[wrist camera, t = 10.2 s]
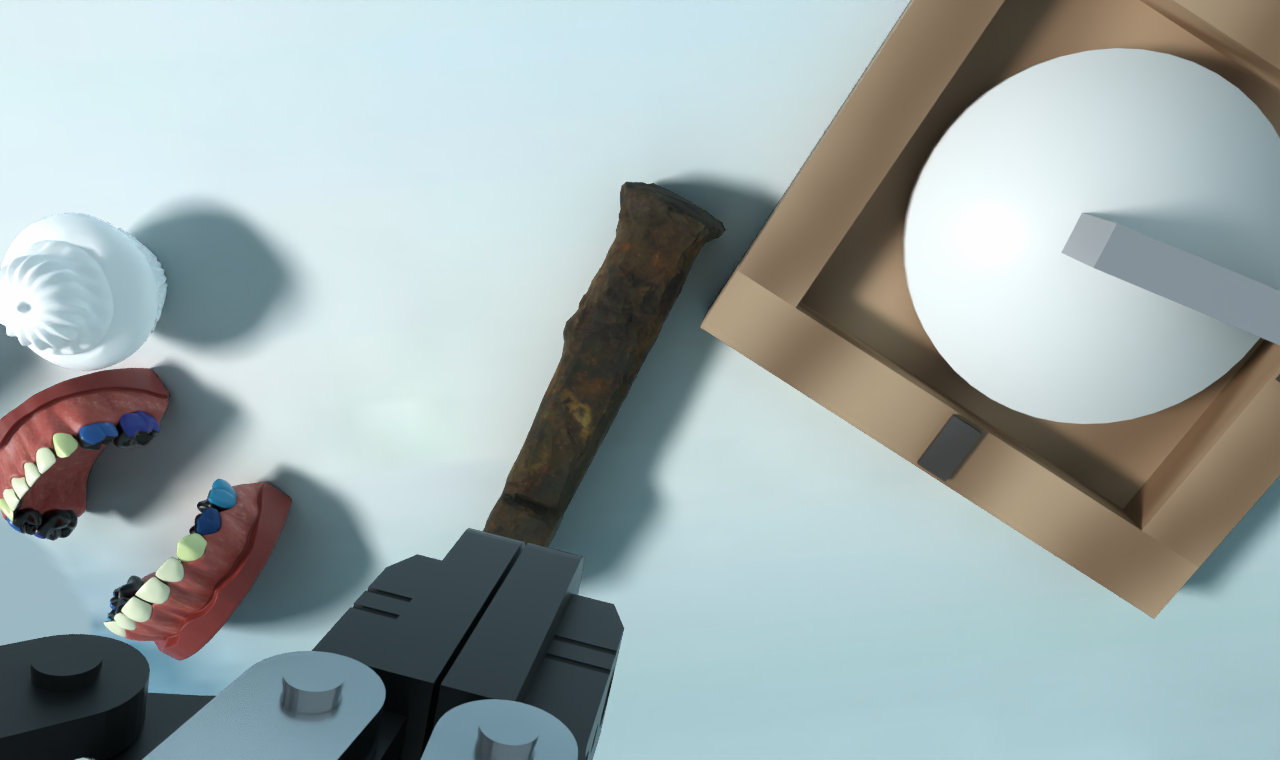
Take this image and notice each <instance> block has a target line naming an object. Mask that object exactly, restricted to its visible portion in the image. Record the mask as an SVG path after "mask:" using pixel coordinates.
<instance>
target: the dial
mask: <svg viewBox="0 0 1280 760" xmlns="http://www.w3.org/2000/svg"><path fill="white" fill-rule="evenodd" d="M902 260H903V268H904V274H905V281H906V286H907V289H908V292H909V296H910V299H911V302H912V306H913V308H914V310H915V312H916V314H917V317H918V319H919V321H920V323H921V325H922V327H923V329H924V330H925V332H926V333H927V335H928V336H929V338H930V340H931V341H932V343H933V344H934V346H935V347H936V349H937V350H938V352H939V353H940V354H941V355H942V357H943V358H944V359H945V360H946V361H947V363H948V364H949V365H950V366H951V367H952V368H953V370H954V371H955V372H957V373H958V374H959V375H960V376H961V377H962V378H963V379H964V380H966V381H967V382H968V383H969V384H970V385H971V386H973V387H974V388H975V389H977V390H978V391H980V392H981V393H983V394H984V395H986V396H987V397H989V398H990V399H992V400H994V401H996V402H998V403H1000V404H1002V405H1004V406H1006V407H1008V408H1010V409H1012V410H1015V411H1018V412H1021V413H1024V414H1027V415H1030V416H1033V417H1036V418H1041V419H1046V420H1051V421H1055V422H1064V423H1075V424H1098V423H1111V422H1118V421H1124V420H1131V419H1135V418H1138V417H1142V416H1145V415H1149V414H1153V413H1156V412H1159V411H1161V410H1163V409H1166V408H1168V407H1171V406H1173V405H1176V404H1178V403H1180V402H1182V401H1184V400H1186V399H1188V398H1190V397H1191V396H1193V395H1195V394H1197V393H1199V392H1200V391H1202V390H1204V389H1205V388H1206V387H1208V386H1209V385H1211V384H1212V383H1213V382H1215V381H1216V380H1218V379H1219V378H1221V377H1222V376H1223V375H1224V374H1226V373H1227V372H1228V371H1229V370H1230V369H1231V368H1232V367H1233V366H1234V365H1235V364H1237V363H1238V362H1239V361H1240V360H1241V359H1242V358H1243V357H1244V356H1245V355H1246V354H1247V352H1248V351H1249V350H1250V349H1251V348H1252V347H1253V345H1254V344H1255V343H1256V342H1257V341H1258V340H1259V339H1260V337H1261V338H1263V339H1266V340H1268V341H1270V342H1273V343H1275V344H1278V345H1280V138H1279V136H1278V134H1277V133H1276V131H1275V129H1274V127H1273V126H1272V124H1271V123H1270V122H1269V120H1268V119H1267V118H1266V117H1265V115H1264V114H1263V113H1262V112H1261V110H1260V109H1259V108H1258V107H1257V105H1256V104H1255V103H1253V102H1252V101H1251V100H1250V99H1249V98H1248V97H1247V96H1246V95H1245V94H1244V93H1243V92H1242V91H1241V90H1240V89H1238V88H1237V87H1236V86H1234V85H1233V84H1231V83H1230V82H1228V81H1227V80H1226V79H1224V78H1223V77H1221V76H1220V75H1218V74H1217V73H1215V72H1213V71H1211V70H1209V69H1207V68H1205V67H1203V66H1201V65H1198V64H1196V63H1194V62H1192V61H1189V60H1186V59H1183V58H1179V57H1176V56H1173V55H1170V54H1166V53H1160V52H1155V51H1149V50H1144V49H1124V48H1112V49H1100V50H1089V51H1084V52H1080V53H1075V54H1070V55H1066V56H1061V57H1057V58H1053V59H1050V60H1047V61H1044V62H1041V63H1038V64H1035V65H1033V66H1030V67H1027V68H1025V69H1023V70H1021V71H1019V72H1017V73H1015V74H1013V75H1011V76H1009V77H1007V78H1005V79H1003V80H1002V81H1000V82H998V83H997V84H995V85H994V86H992V87H991V88H989V89H988V90H986V91H985V92H983V93H982V94H981V95H980V96H978V97H977V98H976V99H975V100H974V101H972V102H971V103H970V104H969V105H968V106H967V107H965V108H964V109H963V110H962V111H961V112H960V113H959V114H958V115H957V117H956V118H955V119H954V120H953V121H952V122H951V123H950V124H949V125H948V126H947V127H946V128H945V130H944V131H943V133H942V134H941V135H940V137H939V138H938V140H937V141H936V142H935V144H934V145H933V147H932V148H931V150H930V151H929V153H928V155H927V157H926V159H925V161H924V162H923V164H922V166H921V168H920V170H919V172H918V175H917V177H916V180H915V182H914V185H913V187H912V190H911V193H910V197H909V201H908V205H907V209H906V213H905V218H904V227H903V235H902Z"/></svg>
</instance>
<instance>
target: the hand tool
mask: <svg viewBox="0 0 1280 760" xmlns="http://www.w3.org/2000/svg"><path fill="white" fill-rule="evenodd" d="M620 206H621V210H620V214H619V222H618V225H617V229H616V238H615V240H614V242H613V244H612V246H611V247H610V249H609V251H608V254H607V256H606V259H605V261H604V263H603V265H602V267H601V268H600V269H599V271H598V273H597V274H596V276H595V277H594V279H593V280H592V282H591V285H590V287H589V289H588V292H587V293H586V294H585V295H584V296H583V298H582V299H581V301H580V303H579V309H578V310H577V311H576V313H575V314H574V315H573V316H572V317H571V318H570V319H569V320H568V321H567V322H566V325H565V328H564V331H563V335H564V347H563V353H562V357H561V360H560V362H559V365H558V367H557V369H556V372H555V374H554V376H553V378H552V380H551V382H550V384H549V386H548V389H547V391H546V393H545V395H544V397H543V399H542V402H541V404H540V407H539V409H538V412H537V414H536V417H535V419H534V422H533V424H532V427H531V429H530V431H529V433H528V436H527V438H526V440H525V443H524V445H523V447H522V449H521V451H520V453H519V455H518V458H517V460H516V461H515V463H514V465H513V467H512V469H511V471H510V473H509V475H508V477H507V481H506V484H505V487H504V490H503V493H502V495H501V497H500V498H499V500H498V501H497V503H496V505H495V506H494V508H493V510H492V511H491V513H490V515H489V518H488V520H487V522H486V525H485V528H484V530H483V532H487V533H490V534H494V535H498V536H502V537H506V538H510V539H514V540H518V541H522V542H525V546H526V545H527V544H528V543H531V544H535V545H539V546H543V547H548V546H549V544H550V542H551V541H552V539H553V537H554V536H555V534H556V531H557V528H558V526H559V524H560V522H561V520H562V518H563V514H564V512H565V510H566V509H567V507H568V505H569V503H570V501H571V499H572V498H573V496H574V494H575V492H576V490H577V488H578V486H579V484H580V482H581V480H582V478H583V476H584V474H585V473H586V471H587V469H588V467H589V465H590V463H591V461H592V459H593V458H594V456H595V454H596V452H597V450H598V448H599V446H600V444H601V443H602V441H603V439H604V437H605V436H606V434H607V432H608V430H609V428H610V426H611V424H612V422H613V420H614V418H615V416H616V415H617V413H618V411H619V409H620V407H621V405H622V403H623V401H624V399H625V397H626V396H627V394H628V392H629V389H630V387H631V385H632V383H633V381H634V379H635V378H636V376H637V374H638V372H639V370H640V368H641V366H642V364H643V362H644V360H645V358H646V356H647V354H648V352H649V351H650V349H651V348H652V346H653V344H654V343H655V341H656V339H657V337H658V335H659V332H660V330H661V328H662V325H663V323H664V321H665V320H666V318H667V316H668V314H669V312H670V310H671V308H672V306H673V304H674V302H675V301H676V299H677V298H678V296H679V294H680V292H681V290H682V287H683V285H684V282H685V280H686V277H687V275H688V272H689V270H690V268H691V266H692V264H693V262H694V260H695V258H696V256H697V254H698V252H699V250H700V249H701V247H702V246H703V245H704V243H705V242H707V241H710V240H713V239H715V238H718V237H720V236H721V235H722V234H723V232H724V231H725V228H724V226H723V224H722V222H720V221H718V220H716V219H715V218H714V217H713V216H711V215H710V214H709V213H707V212H706V211H705V210H703V209H701V208H699V207H698V206H696V205H694V204H693V203H691V202H690V201H688V200H686V199H684V198H682V197H680V196H678V195H676V194H674V193H673V192H671V191H669V190H666V189H664V188H661V187H659V186H657V185H655V184H654V183H652V184H646V183H643V182H626V183H624V184H623V185H622V187H621V192H620Z"/></svg>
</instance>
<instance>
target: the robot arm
mask: <svg viewBox="0 0 1280 760" xmlns="http://www.w3.org/2000/svg"><path fill="white" fill-rule="evenodd" d="M583 565H584V557H583V556H579V555H575V554H571V553H567V552H563V551H559V550H555V549H551V548H547V547H543V546H539V545H535V544H531V543H528V544H527V545H526V546H525V542H522V541H518V540H514V539H510V538H506V537H502V536H498V535H494V534H490V533H487V532H483V531H479V530H475V529H471V528H468V529H467V530H466V531H465V532H464V533H463V535H462V536H461V537H460V539H459V540H458V541H457V542H456V544H455V545H454V546H453V548H452V549H451V550H450V551H449V553H448V554H447V555H446V557H445V558H444V559H443V560H442V561H441V560H437V559H433V558H429V557H425V556H421V555H415V556H413V557H410V558H408V559H405V560H403V561H401V562H398V563H396V564H393V565H391V566H389V567H386V568H385V569H384V571H383V572H382V573H381V574H380V575H379V576H378V577H377V578H376V580H375V581H374V582H373V583H372V584H371V585H370V586H369V588H368V591H365V592H364V593H363V594H362V595H361V596H360V597H359V598H358V600H357V601H356V602H355V603H354V606H353V608H351V607H350V609H349V610H348V611H347V612H346V613H345V614H344V615H343V616H342V617H341V619H340V620H339V621H338V622H337V623H336V624H335V625H334V626H333V628H332V629H331V630H330V631H329V632H328V633H327V634H326V635H325V636H324V638H323V639H322V640H321V641H320V642H319V643H318V644H317V645H316V646H315V648H314V649H313V650H312V651H298V652H290V653H284V654H280V655H275V656H272V657H269V658H267V659H264V660H262V661H260V662H258V663H256V664H254V665H253V666H252V667H250V668H249V669H247V670H246V671H245V672H244V673H243V674H242V675H240V676H239V677H238V678H237V679H236V680H235V681H233V682H232V683H231V684H230V685H229V686H228V687H226V688H225V689H224V690H223V691H222V692H221V693H219V694H218V695H217V696H198V695H180V694H162V693H148V683H149V673H150V669H149V664H148V662H147V660H146V658H145V657H144V656H143V655H142V654H141V653H140V652H139V651H138V650H137V649H135V648H134V647H132V646H130V645H128V644H126V643H124V642H122V641H118V640H115V639H112V638H107V637H102V636H96V635H85V634H80V635H79V634H69V635H56V636H50V637H43V638H38V639H33V640H28V641H22V642H18V643H12V644H7V645H2V646H0V760H593V756H594V753H595V750H596V746H597V743H598V740H599V736H600V733H601V728H602V724H603V719H604V715H605V711H606V706H607V702H608V697H609V693H610V688H611V684H612V680H613V675H614V671H615V666H616V662H617V657H618V653H619V649H620V644H621V640H622V635H623V631H624V627H623V624H622V622H621V620H620V617H619V615H618V613H617V610H616V608H615V606H614V604H610V603H607V602H603V601H599V600H595V599H591V598H587V597H583V596H579V595H578V591H579V586H580V582H581V577H582V571H583Z"/></svg>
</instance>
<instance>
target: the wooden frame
mask: <svg viewBox="0 0 1280 760" xmlns="http://www.w3.org/2000/svg"><path fill="white" fill-rule="evenodd" d="M1112 48H1124V49H1144V50H1149V51H1155V52H1160V53H1166V54H1170V55H1173V56H1176V57H1179V58H1183V59H1186V60H1189V61H1192V62H1194V63H1196V64H1198V65H1201V66H1203V67H1205V68H1207V69H1209V70H1211V71H1213V72H1215V73H1217V74H1218V75H1220V76H1221V77H1223V78H1224V79H1226V80H1227V81H1228V82H1230V83H1231V84H1233V85H1234V86H1236V87H1237V88H1238V89H1240V90H1241V91H1242V92H1243V93H1244V94H1245V95H1246V96H1247V97H1248V98H1249V99H1250V100H1251V101H1252V102H1253V103H1255V104H1256V105H1257V107H1258V108H1259V109H1260V110H1261V112H1262V113H1263V114H1264V115H1265V117H1266V118H1267V119H1268V120H1269V122H1270V123H1271V124H1272V126H1273V127H1274V129H1275V131H1276V133H1277V134H1278V136H1279V138H1280V0H911V1H910V2H909V4H908V5H907V7H906V8H905V10H904V12H903V13H902V15H901V16H900V18H899V19H898V21H897V22H896V24H895V25H894V27H893V28H892V30H891V31H890V33H889V34H888V36H887V38H886V39H885V41H884V42H883V44H882V45H881V47H880V48H879V50H878V51H877V53H876V54H875V56H874V57H873V59H872V60H871V62H870V64H869V65H868V67H867V68H866V70H865V71H864V73H863V74H862V76H861V77H860V79H859V80H858V82H857V83H856V85H855V86H854V88H853V89H852V91H851V93H850V94H849V96H848V97H847V99H846V100H845V102H844V103H843V105H842V106H841V108H840V109H839V111H838V112H837V114H836V115H835V117H834V119H833V120H832V122H831V123H830V125H829V126H828V128H827V129H826V131H825V132H824V134H823V135H822V137H821V138H820V140H819V141H818V143H817V145H816V146H815V148H814V149H813V151H812V152H811V154H810V155H809V157H808V158H807V160H806V161H805V163H804V164H803V166H802V167H801V169H800V171H799V172H798V174H797V175H796V177H795V178H794V180H793V181H792V183H791V184H790V186H789V187H788V189H787V190H786V192H785V193H784V195H783V197H782V198H781V200H780V201H779V203H778V204H777V206H776V207H775V209H774V210H773V212H772V213H771V215H770V216H769V218H768V219H767V221H766V223H765V224H764V226H763V227H762V229H761V230H760V232H759V233H758V235H757V236H756V238H755V239H754V241H753V242H752V244H751V245H750V247H749V249H748V250H747V252H746V253H745V255H744V256H743V258H742V259H741V261H740V262H739V264H738V265H737V267H736V268H735V270H734V271H733V273H732V275H731V276H730V278H729V279H728V281H727V282H726V284H725V285H724V287H723V288H722V290H721V291H720V293H719V294H718V296H717V297H716V299H715V301H714V302H713V304H712V305H711V307H710V308H709V310H708V311H707V313H706V314H705V317H704V319H703V322H702V324H701V327H700V328H702V329H703V330H705V331H707V332H708V333H710V334H711V335H713V336H714V337H716V338H718V339H719V340H721V341H722V342H724V343H725V344H727V345H728V346H730V347H732V348H733V349H735V350H736V351H738V352H739V353H741V354H742V355H744V356H746V357H747V358H749V359H750V360H752V361H753V362H755V363H756V364H758V365H760V366H761V367H763V368H764V369H766V370H767V371H769V372H770V373H772V374H774V375H775V376H777V377H778V378H780V379H781V380H783V381H784V382H786V383H788V384H789V385H791V386H792V387H794V388H795V389H797V390H798V391H800V392H802V393H803V394H805V395H806V396H808V397H809V398H811V399H812V400H814V401H816V402H817V403H819V404H820V405H822V406H823V407H825V408H827V409H828V410H830V411H831V412H833V413H834V414H836V415H837V416H839V417H841V418H842V419H844V420H845V421H847V422H848V423H850V424H851V425H853V426H855V427H856V428H858V429H859V430H861V431H862V432H864V433H865V434H867V435H869V436H870V437H872V438H873V439H875V440H876V441H878V442H879V443H881V444H883V445H884V446H886V447H887V448H889V449H890V450H892V451H893V452H895V453H897V454H898V455H900V456H901V457H903V458H904V459H906V460H907V461H909V462H911V463H912V464H914V465H915V466H917V467H918V468H920V469H922V470H923V471H925V472H926V473H928V474H929V475H931V476H932V477H934V478H936V479H937V480H939V481H940V482H942V483H943V484H945V485H946V486H948V487H950V488H951V489H953V490H954V491H956V492H957V493H959V494H960V495H962V496H964V497H965V498H967V499H968V500H970V501H971V502H973V503H974V504H976V505H978V506H979V507H981V508H982V509H984V510H985V511H987V512H988V513H990V514H992V515H993V516H995V517H996V518H998V519H999V520H1001V521H1002V522H1004V523H1006V524H1007V525H1009V526H1010V527H1012V528H1013V529H1015V530H1017V531H1018V532H1020V533H1021V534H1023V535H1024V536H1026V537H1027V538H1029V539H1031V540H1032V541H1034V542H1035V543H1037V544H1038V545H1040V546H1041V547H1043V548H1045V549H1046V550H1048V551H1049V552H1051V553H1052V554H1054V555H1055V556H1057V557H1059V558H1060V559H1062V560H1063V561H1065V562H1066V563H1068V564H1069V565H1071V566H1073V567H1074V568H1076V569H1077V570H1079V571H1080V572H1082V573H1083V574H1085V575H1087V576H1088V577H1090V578H1091V579H1093V580H1094V581H1096V582H1097V583H1099V584H1101V585H1102V586H1104V587H1105V588H1107V589H1108V590H1110V591H1112V592H1113V593H1115V594H1116V595H1118V596H1119V597H1121V598H1122V599H1124V600H1126V601H1127V602H1129V603H1130V604H1132V605H1133V606H1135V607H1136V608H1138V609H1140V610H1141V611H1143V612H1144V613H1146V614H1147V615H1149V616H1150V617H1152V618H1155V617H1156V616H1157V615H1158V614H1159V613H1160V611H1161V610H1162V609H1163V608H1164V607H1165V606H1166V605H1167V603H1168V602H1169V601H1170V600H1171V599H1172V598H1173V597H1174V595H1175V594H1176V593H1177V592H1178V591H1179V590H1180V589H1181V587H1182V586H1183V585H1184V584H1185V583H1186V582H1187V581H1188V579H1189V578H1190V577H1191V576H1192V575H1193V574H1194V573H1195V571H1196V570H1197V569H1198V568H1199V567H1200V566H1201V565H1202V563H1203V562H1204V561H1205V560H1206V559H1207V558H1208V557H1209V556H1210V554H1211V553H1212V552H1213V551H1214V550H1215V549H1216V548H1217V546H1218V545H1219V544H1220V543H1221V542H1222V541H1223V540H1224V538H1225V537H1226V536H1227V535H1228V534H1229V533H1230V532H1231V530H1232V529H1233V528H1234V527H1235V526H1236V525H1237V524H1238V522H1239V521H1240V520H1241V519H1242V518H1243V517H1244V516H1245V514H1246V513H1247V512H1248V511H1249V510H1250V509H1251V508H1252V506H1253V505H1254V504H1255V503H1256V502H1257V501H1258V500H1259V498H1260V497H1261V496H1262V495H1263V494H1264V493H1265V492H1266V490H1267V489H1268V488H1269V487H1270V486H1271V485H1272V484H1273V482H1274V481H1275V480H1276V479H1277V478H1278V477H1279V476H1280V345H1278V344H1275V343H1273V342H1270V341H1268V340H1266V339H1263V338H1261V337H1260V339H1259V340H1258V341H1257V342H1256V343H1255V344H1254V345H1253V347H1252V348H1251V349H1250V350H1249V351H1248V352H1247V354H1246V355H1245V356H1244V357H1243V358H1242V359H1241V360H1240V361H1239V362H1238V363H1237V364H1235V365H1234V366H1233V367H1232V368H1231V369H1230V370H1229V371H1228V372H1227V373H1226V374H1224V375H1223V376H1222V377H1221V378H1219V379H1218V380H1216V381H1215V382H1213V383H1212V384H1211V385H1209V386H1208V387H1206V388H1205V389H1204V390H1202V391H1200V392H1199V393H1197V394H1195V395H1193V396H1191V397H1190V398H1188V399H1186V400H1184V401H1182V402H1180V403H1178V404H1176V405H1173V406H1171V407H1168V408H1166V409H1163V410H1161V411H1159V412H1156V413H1153V414H1149V415H1145V416H1142V417H1138V418H1135V419H1131V420H1124V421H1118V422H1111V423H1098V424H1075V423H1064V422H1055V421H1051V420H1046V419H1041V418H1036V417H1033V416H1030V415H1027V414H1024V413H1021V412H1018V411H1015V410H1012V409H1010V408H1008V407H1006V406H1004V405H1002V404H1000V403H998V402H996V401H994V400H992V399H990V398H989V397H987V396H986V395H984V394H983V393H981V392H980V391H978V390H977V389H975V388H974V387H973V386H971V385H970V384H969V383H968V382H967V381H966V380H964V379H963V378H962V377H961V376H960V375H959V374H958V373H957V372H955V371H954V370H953V368H952V367H951V366H950V365H949V364H948V363H947V361H946V360H945V359H944V358H943V357H942V355H941V354H940V353H939V352H938V350H937V349H936V347H935V346H934V344H933V343H932V341H931V340H930V338H929V336H928V335H927V333H926V332H925V330H924V329H923V327H922V325H921V323H920V321H919V319H918V317H917V314H916V312H915V310H914V308H913V306H912V302H911V299H910V296H909V292H908V289H907V286H906V281H905V274H904V268H903V260H902V235H903V227H904V218H905V213H906V209H907V205H908V201H909V197H910V193H911V190H912V187H913V185H914V182H915V180H916V177H917V175H918V172H919V170H920V168H921V166H922V164H923V162H924V161H925V159H926V157H927V155H928V153H929V151H930V150H931V148H932V147H933V145H934V144H935V142H936V141H937V140H938V138H939V137H940V135H941V134H942V133H943V131H944V130H945V128H946V127H947V126H948V125H949V124H950V123H951V122H952V121H953V120H954V119H955V118H956V117H957V115H958V114H959V113H960V112H961V111H962V110H963V109H964V108H965V107H967V106H968V105H969V104H970V103H971V102H972V101H974V100H975V99H976V98H977V97H978V96H980V95H981V94H982V93H983V92H985V91H986V90H988V89H989V88H991V87H992V86H994V85H995V84H997V83H998V82H1000V81H1002V80H1003V79H1005V78H1007V77H1009V76H1011V75H1013V74H1015V73H1017V72H1019V71H1021V70H1023V69H1025V68H1027V67H1030V66H1033V65H1035V64H1038V63H1041V62H1044V61H1047V60H1050V59H1053V58H1057V57H1061V56H1066V55H1070V54H1075V53H1080V52H1084V51H1089V50H1100V49H1112Z"/></svg>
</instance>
